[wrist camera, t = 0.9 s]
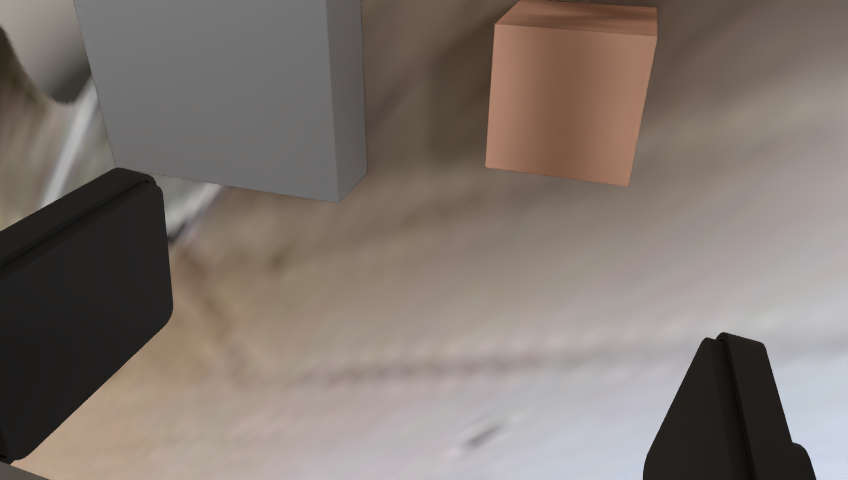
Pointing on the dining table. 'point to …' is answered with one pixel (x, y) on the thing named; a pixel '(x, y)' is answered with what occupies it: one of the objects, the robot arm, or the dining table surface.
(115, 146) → the gray block
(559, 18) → the terracotta cube
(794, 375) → the dining table surface
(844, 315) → the dining table surface
